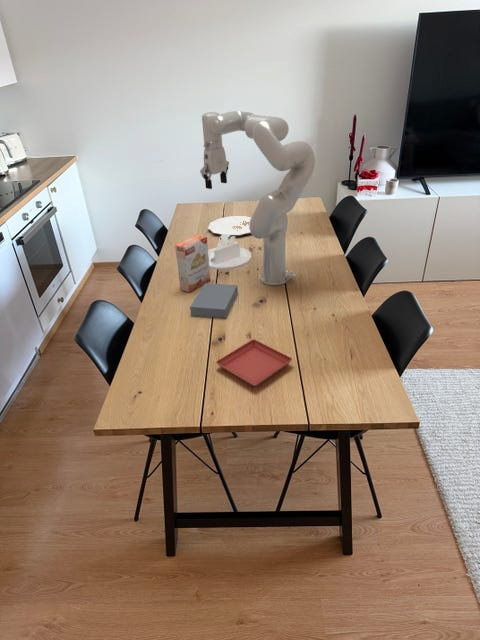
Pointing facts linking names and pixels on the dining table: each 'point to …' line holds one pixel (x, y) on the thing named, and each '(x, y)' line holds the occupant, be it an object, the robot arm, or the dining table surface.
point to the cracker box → (193, 262)
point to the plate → (230, 226)
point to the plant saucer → (254, 362)
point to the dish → (228, 254)
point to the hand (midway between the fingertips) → (216, 185)
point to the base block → (214, 300)
